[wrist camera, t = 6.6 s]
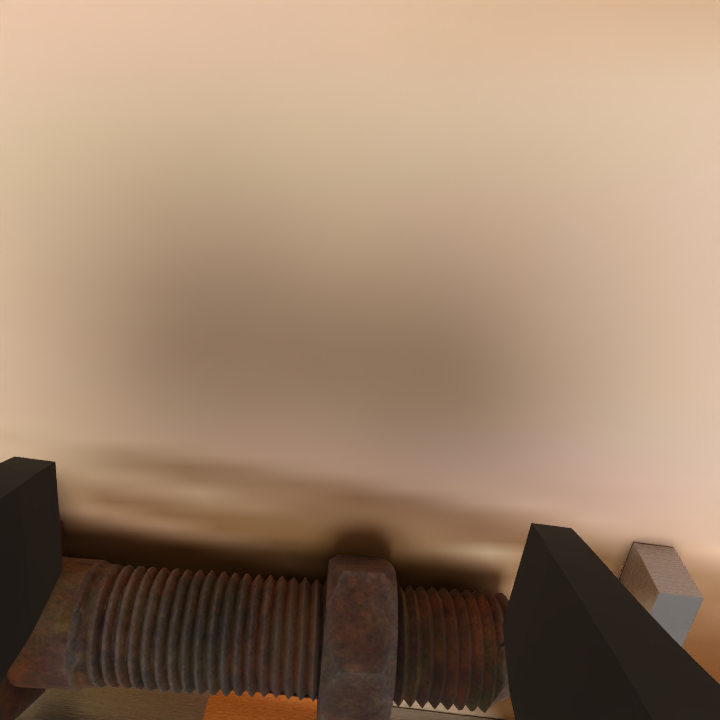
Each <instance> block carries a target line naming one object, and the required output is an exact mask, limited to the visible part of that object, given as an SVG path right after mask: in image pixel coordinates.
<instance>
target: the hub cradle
mask: <svg viewBox="0 0 720 720" xmlns="http://www.w3.org/2000/svg"><path fill="white" fill-rule="evenodd" d="M619 581H620V582H621V583H622V584H623V585H624V586H625V587H626V588H627V590H628V591H629V592H630V593H631V594H632V595H633V596H634V597H635V598H636V599H637V600H638V602H639V603H640V604H641V605H642V606H643V607H644V608H645V609H646V610H647V611H648V612H649V613H650V615H651V616H652V617H653V618H654V619H655V620H656V621H657V622H658V623H659V624H660V625H661V626H662V627H663V628H664V629H665V630H666V631H667V633H668V634H669V635H670V636H671V637H672V638H673V639H674V640H675V641H676V642H677V643H678V644H679V645H680V646H681V647H682V645H683V643H684V641H685V639H686V636H687V634H688V632H689V630H690V627H691V625H692V623H693V621H694V618H695V616H696V614H697V612H698V610H699V607H700V605H701V603H702V601H703V596H702V595H701V593H700V591H699V589H698V588H697V586H696V584H695V583H694V581H693V579H692V578H691V576H690V574H689V573H688V571H687V569H686V567H685V566H684V564H683V562H682V561H681V559H680V557H679V556H678V554H677V552H676V550H675V549H674V548H671V547H664V546H656V545H648V544H640V543H633V545H632V548H631V551H630V553H629V556H628V559H627V561H626V564H625V567H624V569H623V572H622V575H621V577H620V580H619ZM316 717H317V698H316V699H315V700H314V701H312V700H311V698H310V697H306V696H304V698H303V699H302V700H301V701H300V700H299V698H298V696H297V695H292V696H291V697H290V699H289V700H288V699H287V697H286V696H285V694H282V693H281V694H280V695H279V696H278V697H277V698H275V696H274V695H273V693H272V692H269V693H268V694H267V695H266V696H265V697H263V696H262V695H261V693H260V691H257V692H256V693H255V695H254V696H253V697H251V696H250V695H249V694H248V692H247V690H245V691H244V692H243V694H242V695H241V696H240V697H238V696H237V695H236V694H235V692H234V690H232V691H231V693H230V694H229V695H228V696H225V695H223V693H222V691H221V689H220V690H219V691H218V693H217V694H216V695H211V693H210V691H209V689H208V690H207V691H206V692H205V693H203V694H202V695H199V694H198V692H197V690H196V689H195V690H194V691H193V692H192V693H191V694H187V693H185V692H184V690H183V689H182V690H181V691H180V692H179V693H174V692H172V691H171V688H170V689H169V690H168V691H165V692H160V691H159V689H158V688H157V689H155V690H153V691H148V690H147V689H146V688H145V687H144V688H143V689H135V688H134V687H133V686H132V687H131V688H123V687H122V686H121V685H120V686H119V687H118V688H110V687H109V686H105V687H102V688H97V687H95V686H93V687H85V688H83V689H81V690H78V691H77V690H60V689H46V690H45V692H44V693H43V694H42V695H41V696H40V697H39V698H38V699H37V700H36V701H35V702H34V703H33V704H31V705H30V706H29V707H28V708H27V709H26V710H25V711H24V712H23V713H22V714H21V715H20V716H19V717H17V718H16V719H15V720H316ZM390 720H495V719H486V718H478V717H470V716H462V715H454V714H445V713H437V712H429V711H421V710H413V709H404V708H396V707H392V711H391V716H390Z"/></svg>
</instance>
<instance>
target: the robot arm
mask: <svg viewBox="0 0 720 720" xmlns="http://www.w3.org/2000/svg"><path fill="white" fill-rule="evenodd" d="M62 569H63V568H62V553H61V539H60V524H59V509H58V494H57V480H56V465H55V462H52V461H44V460H37V459H29V458H21V457H13V458H11V459H8V460H6V461H4V462H2V463H0V683H1V681H2V680H3V678H4V677H5V675H6V674H7V672H8V670H9V669H10V667H11V666H12V664H13V663H14V661H15V659H16V658H17V656H18V655H19V653H20V652H21V650H22V648H23V647H24V645H25V644H26V642H27V640H28V639H29V637H30V635H31V634H32V632H33V630H34V628H35V626H36V624H37V622H38V620H39V618H40V616H41V614H42V612H43V610H44V608H45V606H46V604H47V602H48V600H49V598H50V596H51V593H52V591H53V589H54V587H55V585H56V582H57V580H58V578H59V576H60V574H61V572H62ZM502 626H503V637H504V647H505V658H506V667H507V676H508V684H509V692H510V696H511V701H512V706H513V710H514V715H515V719H516V720H720V684H719V683H718V682H716V681H715V680H714V679H713V678H712V677H711V676H710V675H709V674H708V673H707V672H706V671H705V670H704V669H703V668H702V667H701V666H700V665H699V664H698V663H697V662H696V661H695V660H694V659H693V658H692V657H691V656H690V655H689V654H688V653H687V652H686V651H685V650H684V649H683V648H682V647H681V646H680V645H679V644H678V643H677V642H676V641H675V640H674V639H673V638H672V637H671V636H670V635H669V634H668V633H667V631H666V630H665V629H664V628H663V627H662V626H661V625H660V624H659V623H658V622H657V621H656V620H655V619H654V618H653V617H652V616H651V615H650V613H649V612H648V611H647V610H646V609H645V608H644V607H643V606H642V605H641V604H640V603H639V602H638V600H637V599H636V598H635V597H634V596H633V595H632V594H631V593H630V592H629V591H628V590H627V588H626V587H625V586H624V585H623V584H622V583H621V582H620V581H619V580H618V578H617V577H616V576H615V575H614V574H613V573H612V572H611V571H610V570H609V568H608V567H607V566H606V565H605V564H604V563H603V562H602V561H601V560H600V558H599V557H598V556H597V555H596V554H595V553H594V552H593V551H592V550H591V548H590V547H589V546H588V545H587V544H586V543H585V542H584V541H583V540H582V539H581V538H580V537H579V536H578V535H577V533H576V532H575V531H574V530H573V529H572V528H565V527H558V526H550V525H542V524H534V523H531V527H530V530H529V534H528V537H527V541H526V544H525V548H524V551H523V554H522V558H521V561H520V565H519V568H518V572H517V575H516V579H515V582H514V586H513V589H512V593H511V596H510V600H509V603H508V607H507V610H506V614H505V617H504V620H503V624H502Z"/></svg>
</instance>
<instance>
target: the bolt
mask: <svg viewBox="0 0 720 720" xmlns="http://www.w3.org/2000/svg"><path fill="white" fill-rule="evenodd" d="M59 524H60V539H61V553H62V568H63V569H62V572H61V574H60V576H59V578H58V580H57V582H56V585H55V587H54V589H53V591H52V593H51V596H50V598H49V600H48V602H47V604H46V606H45V608H44V610H43V612H42V614H41V616H40V618H39V620H38V622H37V624H36V626H35V628H34V630H33V632H32V634H31V635H30V637H29V639H28V640H27V642H26V644H25V645H24V647H23V648H22V650H21V652H20V653H19V655H18V656H17V658H16V659H15V661H14V663H13V664H12V666H11V667H10V669H9V670H8V672H7V674H6V675H5V677H4V678H3V680H2V681H1V683H0V720H15V719H16V718H17V717H19V716H20V715H21V714H22V713H23V712H24V711H25V710H26V709H27V708H28V707H29V706H30V705H31V704H33V703H34V702H35V701H36V700H37V699H38V698H39V697H40V696H41V695H42V694H43V693H44V692H45V690H46V689H60V690H77V691H78V690H81V689H83V688H85V687H93V686H95V687H97V688H102V687H105V686H109V687H110V688H118V687H119V686H120V685H121V686H122V687H123V688H131V687H132V686H133V687H134V688H135V689H143V688H144V687H145V688H146V689H147V690H148V691H153V690H155V689H157V688H158V689H159V691H160V692H165V691H168V690H169V689H170V688H171V691H172V692H174V693H179V692H180V691H181V690H182V689H183V690H184V692H185V693H187V694H191V693H192V692H193V691H194V690H195V689H196V690H197V692H198V694H199V695H202V694H203V693H205V692H206V691H207V690H208V689H209V691H210V693H211V695H216V694H217V693H218V691H219V690H220V689H221V691H222V693H223V695H225V696H228V695H229V694H230V693H231V691H232V690H234V692H235V694H236V695H237V696H238V697H240V696H241V695H242V694H243V692H244V691H245V690H247V692H248V694H249V695H250V696H251V697H253V696H254V695H255V693H256V692H257V691H258V690H260V693H261V695H262V696H263V697H265V696H266V695H267V694H268V693H269V692H270V691H272V693H273V695H274V696H275V698H277V697H278V696H279V695H280V694H281V692H282V691H283V692H284V694H285V696H286V697H287V699H288V700H289V699H290V697H291V696H292V695H293V694H294V693H296V695H297V696H298V698H299V700H300V701H301V700H302V699H303V698H304V696H305V695H306V694H308V695H309V697H310V698H311V700H312V701H314V700H315V699H316V697H317V696H318V698H317V717H316V720H390V716H391V711H392V705H393V700H394V702H395V703H396V704H397V706H398V707H399V706H400V704H401V703H402V701H403V700H405V701H406V703H407V704H408V705H409V707H411V706H412V704H413V703H414V702H415V700H416V701H417V702H418V703H419V705H420V706H421V707H422V708H423V707H424V705H425V704H426V703H427V702H428V701H429V702H430V704H431V705H432V706H433V708H434V709H435V708H436V707H437V706H438V705H439V703H440V702H441V703H442V704H443V705H444V706H445V708H446V709H447V710H448V709H450V707H451V706H452V704H454V705H455V706H456V708H457V709H458V710H462V709H463V708H464V706H465V705H466V706H467V707H468V708H469V710H470V711H474V710H475V709H476V707H477V706H478V707H479V708H480V709H481V710H482V711H483V712H486V711H487V709H488V708H489V707H490V706H492V705H493V704H495V703H496V702H503V701H504V700H506V699H507V698H509V697H510V692H509V684H508V676H507V667H506V658H505V647H504V637H503V626H502V624H503V620H504V617H505V614H506V610H507V607H508V603H509V601H508V599H507V597H506V596H505V595H503V594H502V593H497V594H495V595H494V594H493V593H492V592H490V591H485V592H484V593H483V594H482V592H481V591H480V590H475V591H474V592H473V593H471V592H470V591H469V590H467V589H465V590H464V591H463V592H461V593H459V591H458V590H457V588H456V589H452V590H451V591H450V592H449V593H448V591H447V590H446V588H441V589H440V590H439V591H438V592H437V591H436V589H435V588H433V587H432V586H431V587H430V588H429V589H428V590H427V591H425V590H424V588H423V587H422V586H419V587H418V588H417V589H416V590H415V591H414V590H413V588H412V587H411V586H410V585H408V586H407V587H406V588H405V589H404V590H402V588H401V587H400V585H399V584H398V585H397V580H396V572H395V569H394V566H393V565H392V564H391V563H390V562H389V561H387V560H385V559H383V558H380V557H367V556H354V555H341V554H339V555H336V556H334V557H333V558H331V559H330V560H329V562H328V571H327V581H326V582H325V583H324V584H323V585H321V583H320V582H319V580H318V579H316V580H315V581H314V582H313V583H312V584H311V585H310V583H309V582H308V580H307V579H306V577H305V578H304V579H303V581H302V582H301V583H300V584H298V582H297V581H296V579H295V577H293V578H292V579H291V580H290V581H289V582H288V583H287V582H286V581H285V579H284V577H283V576H281V577H280V578H279V579H278V581H277V582H275V580H274V579H273V577H272V575H270V576H269V577H268V578H267V579H266V580H265V582H264V580H263V578H262V577H261V575H260V574H258V576H257V577H256V578H255V579H254V580H252V578H251V577H250V575H249V574H245V576H244V577H243V578H242V580H241V579H240V577H239V575H238V574H237V573H234V574H233V575H232V576H231V578H230V579H229V578H228V576H227V573H226V572H222V573H221V574H220V576H219V577H218V578H217V577H216V575H215V573H214V571H211V572H209V573H208V575H207V576H205V574H204V572H203V571H201V570H199V571H198V572H196V574H195V575H193V573H192V571H191V570H189V569H187V570H186V571H184V573H183V575H182V574H181V572H180V570H179V568H176V569H174V570H172V572H171V573H170V571H169V569H167V568H162V569H161V570H160V571H159V572H158V570H157V569H156V567H151V568H149V569H148V570H146V568H145V567H143V566H138V567H137V568H136V569H135V568H134V567H133V566H131V565H127V566H125V567H122V565H119V564H110V563H108V562H107V561H105V560H96V559H84V558H72V557H66V548H65V539H64V531H63V524H62V522H61V521H59Z"/></svg>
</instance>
